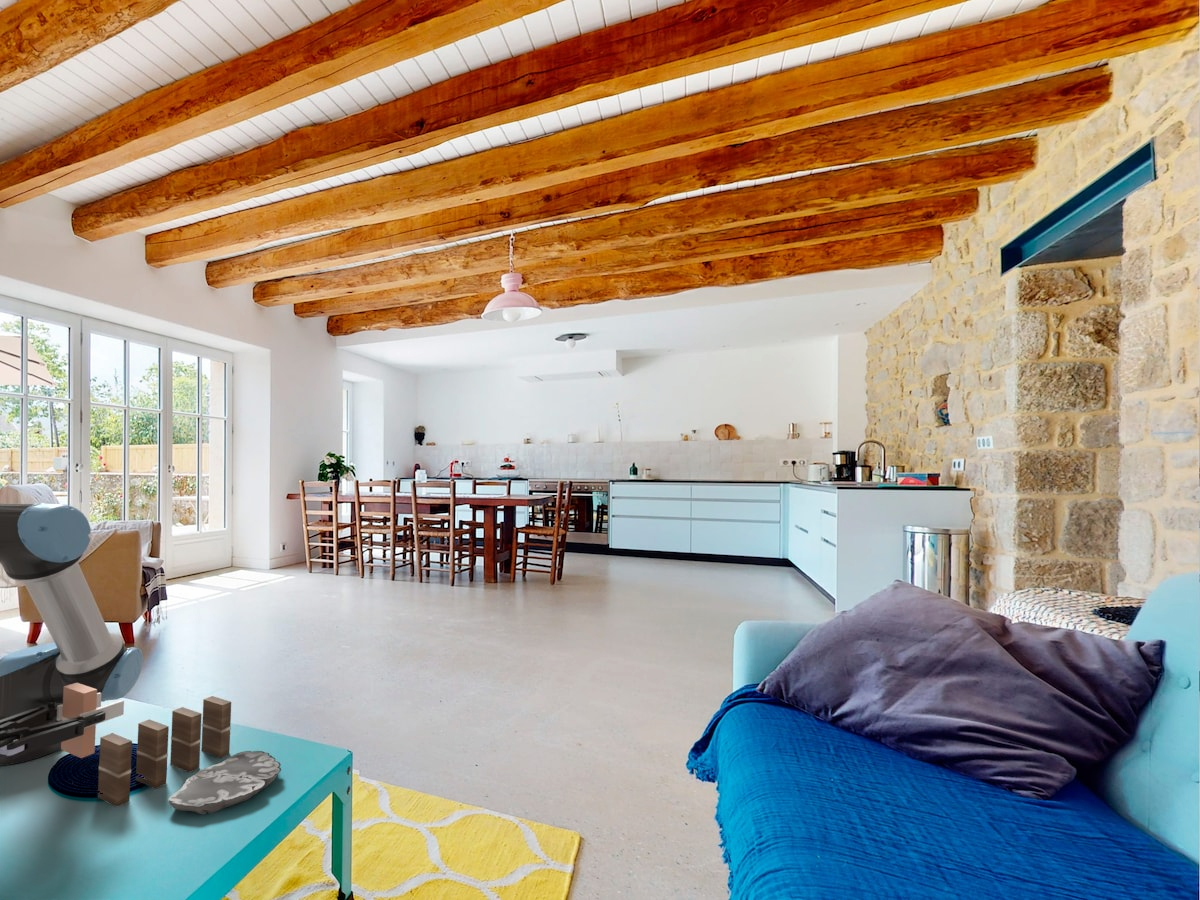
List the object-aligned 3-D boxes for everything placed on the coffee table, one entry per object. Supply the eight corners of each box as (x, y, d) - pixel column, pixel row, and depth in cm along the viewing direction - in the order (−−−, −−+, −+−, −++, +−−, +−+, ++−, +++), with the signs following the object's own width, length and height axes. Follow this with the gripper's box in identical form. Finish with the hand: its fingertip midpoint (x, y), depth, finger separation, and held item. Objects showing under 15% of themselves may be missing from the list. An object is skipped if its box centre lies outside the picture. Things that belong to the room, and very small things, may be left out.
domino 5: (220, 758, 124) (222, 705, 124) (201, 750, 127) (203, 699, 127) (229, 753, 126) (231, 701, 126) (210, 746, 128) (212, 695, 129)
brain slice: (233, 826, 102) (234, 810, 102) (152, 818, 103) (152, 802, 104) (301, 767, 121) (302, 754, 121) (231, 761, 123) (232, 748, 123)
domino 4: (189, 772, 118) (191, 717, 118) (169, 764, 121) (172, 710, 121) (199, 767, 120) (201, 713, 120) (180, 760, 123) (182, 707, 123)
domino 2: (117, 807, 106) (119, 745, 106) (97, 797, 109) (99, 737, 109) (129, 801, 108) (132, 740, 108) (110, 791, 111) (112, 732, 111)
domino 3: (155, 789, 112) (157, 730, 112) (135, 780, 115) (138, 723, 115) (166, 783, 114) (169, 726, 114) (146, 775, 117) (149, 719, 117)
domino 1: (81, 758, 100) (83, 693, 100) (60, 749, 103) (63, 686, 103) (95, 752, 102) (97, 689, 102) (74, 744, 105) (77, 682, 105)
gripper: (-92, 770, 90) (82, 712, 111) (-36, 802, 82) (140, 733, 103) (-90, 725, 90) (84, 675, 111) (-34, 753, 82) (141, 694, 104)
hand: (111, 703), depth 107 cm, fingers closed on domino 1, 7 cm apart
